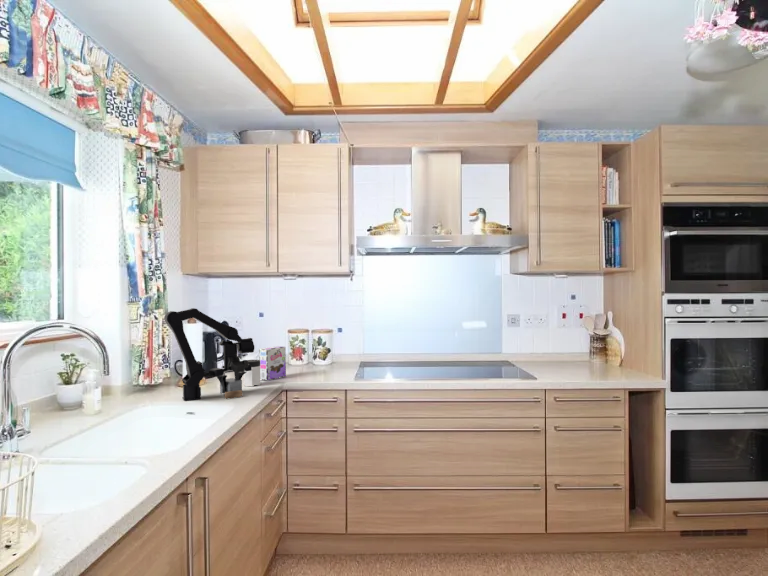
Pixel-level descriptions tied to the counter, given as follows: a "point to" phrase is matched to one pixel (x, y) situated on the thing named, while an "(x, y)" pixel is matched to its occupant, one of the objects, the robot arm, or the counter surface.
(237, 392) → the brown rectangular block
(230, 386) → the gray rectangular block
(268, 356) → the candy box
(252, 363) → the jar
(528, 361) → the counter surface
